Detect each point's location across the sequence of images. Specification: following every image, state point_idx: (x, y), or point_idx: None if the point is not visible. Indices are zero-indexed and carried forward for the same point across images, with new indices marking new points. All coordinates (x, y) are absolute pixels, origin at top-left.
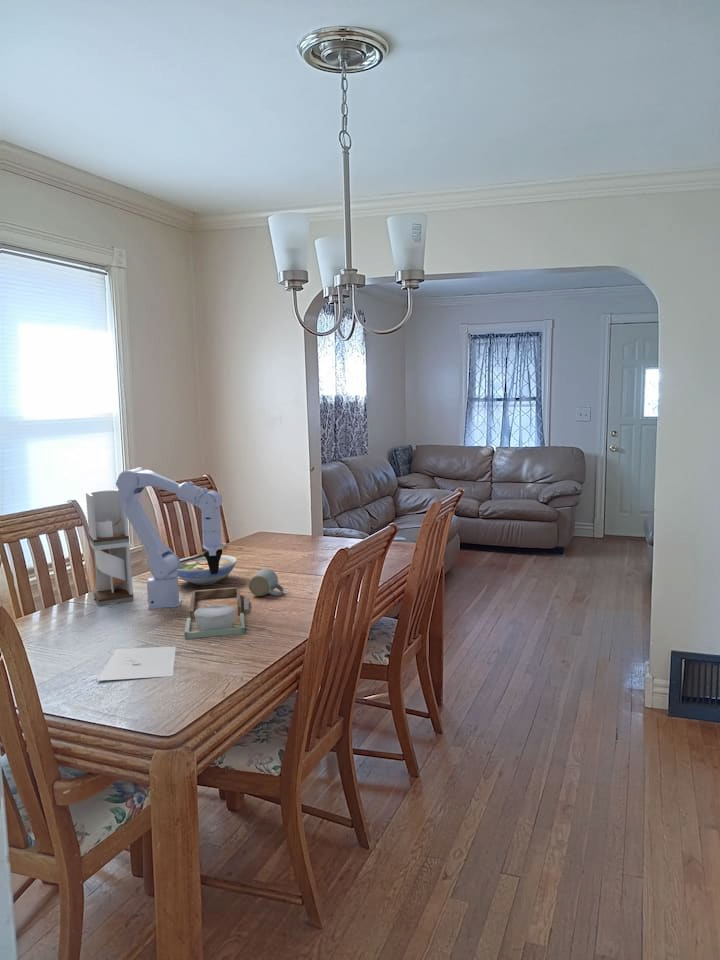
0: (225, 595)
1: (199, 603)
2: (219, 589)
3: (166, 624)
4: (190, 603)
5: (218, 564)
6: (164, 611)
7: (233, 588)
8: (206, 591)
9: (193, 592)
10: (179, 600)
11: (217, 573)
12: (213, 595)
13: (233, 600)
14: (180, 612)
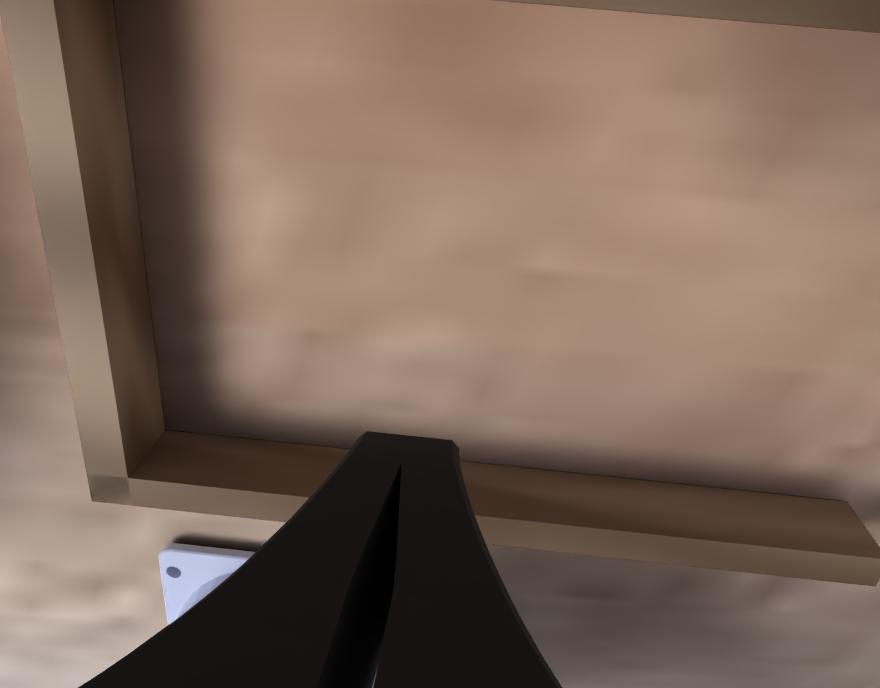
0: (121, 128)
1: (328, 410)
2: (81, 219)
3: (853, 672)
4: (590, 553)
5: (503, 593)
6: None
7: (53, 12)
8: (117, 366)
9: (163, 496)
10: (236, 567)
11: (457, 449)
12: (132, 272)
13: (321, 38)
14: (564, 569)
